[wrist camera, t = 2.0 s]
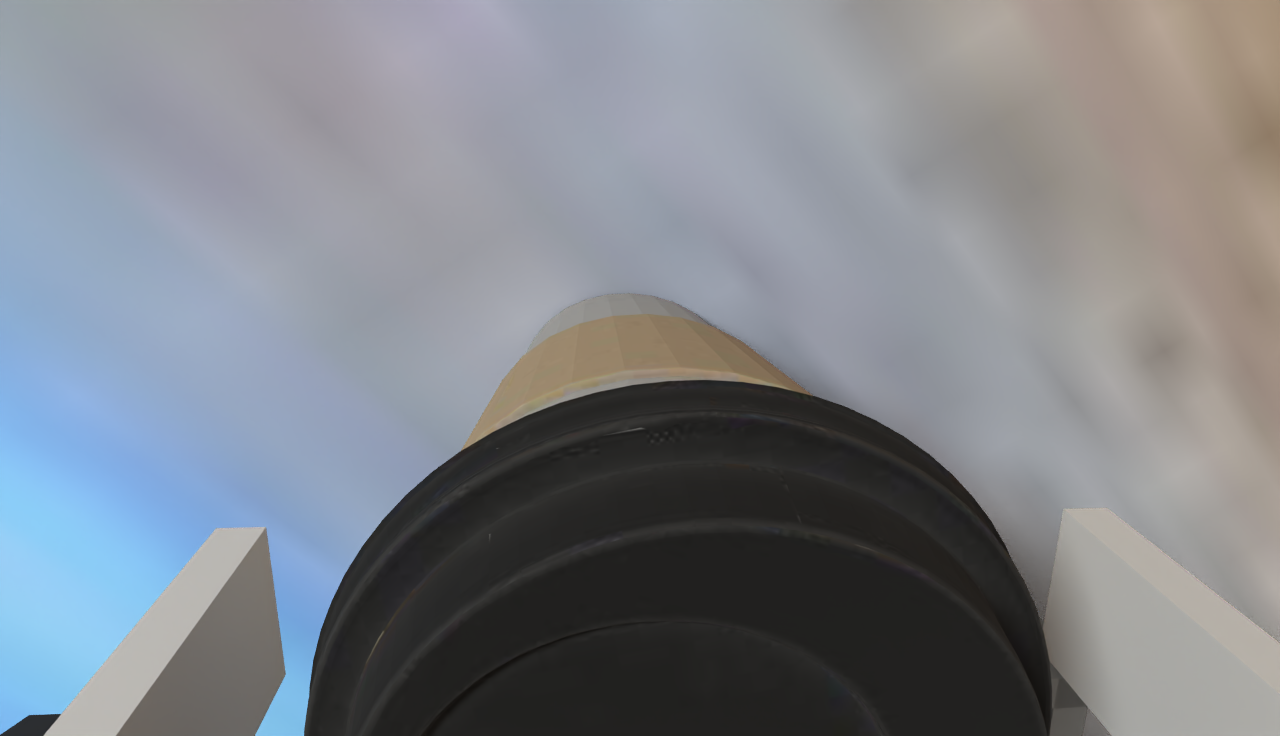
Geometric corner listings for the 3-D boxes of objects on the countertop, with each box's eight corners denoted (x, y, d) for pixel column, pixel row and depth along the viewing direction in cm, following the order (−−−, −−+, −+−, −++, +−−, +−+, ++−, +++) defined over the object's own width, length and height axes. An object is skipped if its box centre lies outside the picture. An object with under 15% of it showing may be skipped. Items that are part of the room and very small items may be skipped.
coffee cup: (835, 473, 25) (1196, 979, 11) (535, 596, 25) (496, 1241, 11) (720, 162, 22) (1004, 288, 8) (383, 308, 22) (64, 679, 8)
